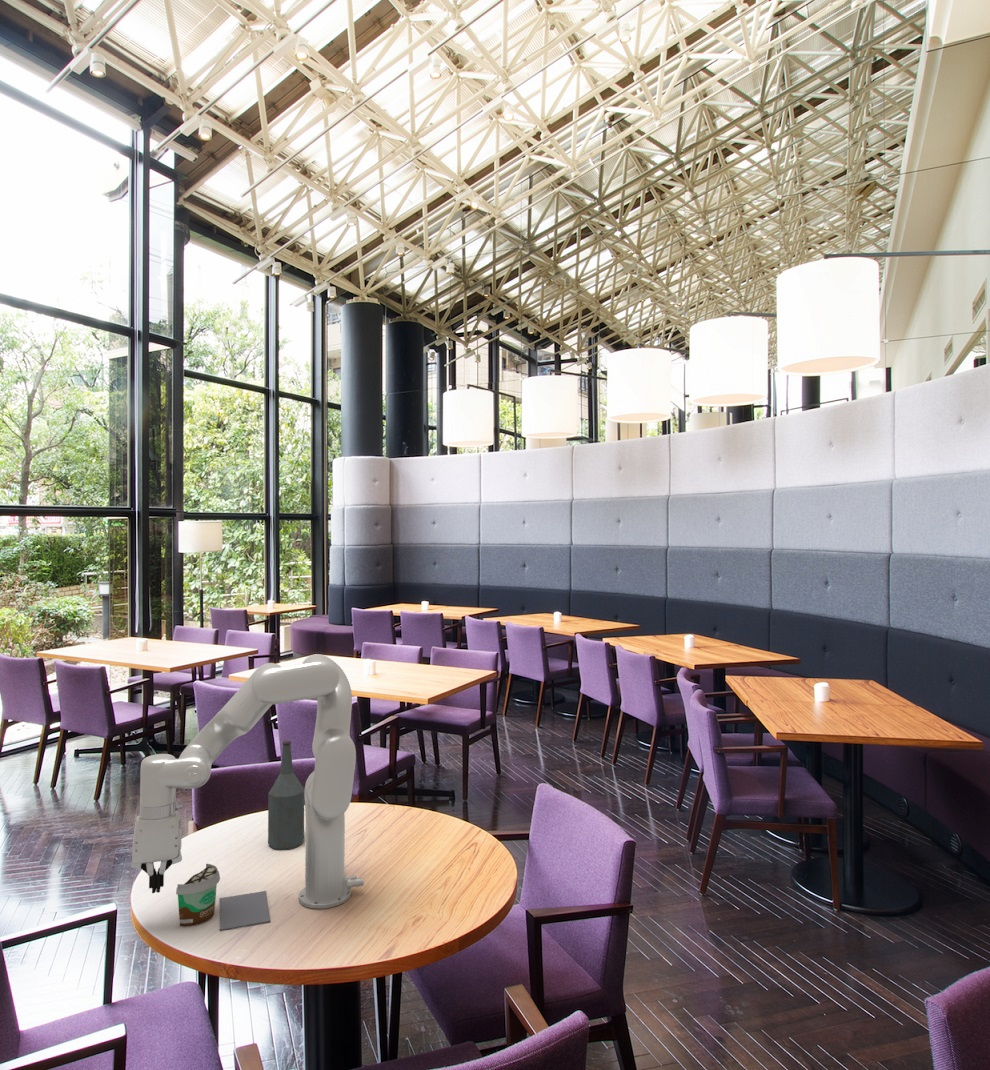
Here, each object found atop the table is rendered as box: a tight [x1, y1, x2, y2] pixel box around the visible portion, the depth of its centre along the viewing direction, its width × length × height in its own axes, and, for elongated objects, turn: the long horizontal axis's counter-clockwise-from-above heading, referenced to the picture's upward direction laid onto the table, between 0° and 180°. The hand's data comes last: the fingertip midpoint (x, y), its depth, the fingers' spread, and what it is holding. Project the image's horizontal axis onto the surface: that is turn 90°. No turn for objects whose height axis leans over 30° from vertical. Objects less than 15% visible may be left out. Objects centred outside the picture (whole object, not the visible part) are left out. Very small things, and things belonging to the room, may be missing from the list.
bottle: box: [267, 740, 305, 851], centre depth 216 cm, size 10×10×30 cm
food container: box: [175, 863, 221, 928], centre depth 172 cm, size 12×6×10 cm, turn 168°
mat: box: [219, 890, 271, 932], centre depth 175 cm, size 11×16×1 cm
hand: (156, 890), depth 169 cm, fingers closed
